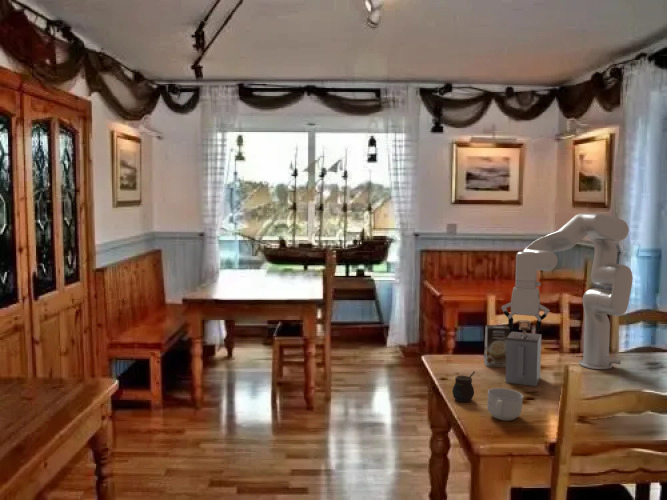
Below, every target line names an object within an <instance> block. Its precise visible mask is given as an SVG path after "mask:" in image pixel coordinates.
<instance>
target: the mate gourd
mask: <svg viewBox="0 0 667 500" xmlns="http://www.w3.org/2000/svg"><path fill="white" fill-rule="evenodd" d="M475 373H476V372H475V371H473V372H472V373H471V374H470V375H469V376H468V375H457V376H455V377H454V378H455V381H454V384H453V388H452V390H451V391H452V395H453V398H454V399H455V400H456V401H457V402H459V403H468V402H470V401H472V399H473V397H474V396H475V389H474V385H472V382H473V378H472V376H474V374H475Z"/></svg>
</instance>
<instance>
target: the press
mask: <svg viewBox="0 0 667 500" xmlns="http://www.w3.org/2000/svg"><path fill="white" fill-rule="evenodd" d="M541 356H542V334H541V333H540V334H539V333H533V332H532V333H531V332H526V337H523V332H519V331H510V334H509V336H508V337H507V351H506V367H505V383H508V384H515V385H524V386H532V387H537V386H538V383H539V381H540V380H541V366H542V365H541V362H542V359H541V358H542V357H541Z"/></svg>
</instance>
